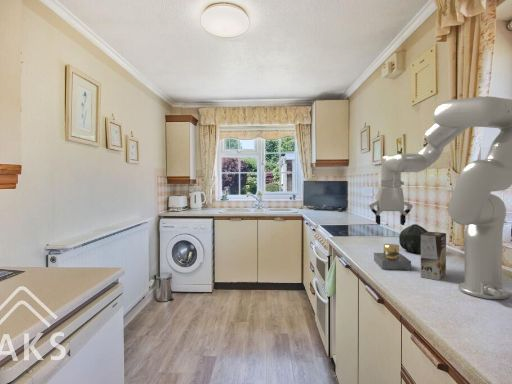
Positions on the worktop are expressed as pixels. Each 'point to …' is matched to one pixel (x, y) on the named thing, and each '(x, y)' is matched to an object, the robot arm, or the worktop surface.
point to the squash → (412, 238)
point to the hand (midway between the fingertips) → (390, 224)
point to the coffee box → (433, 255)
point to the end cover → (391, 250)
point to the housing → (392, 262)
